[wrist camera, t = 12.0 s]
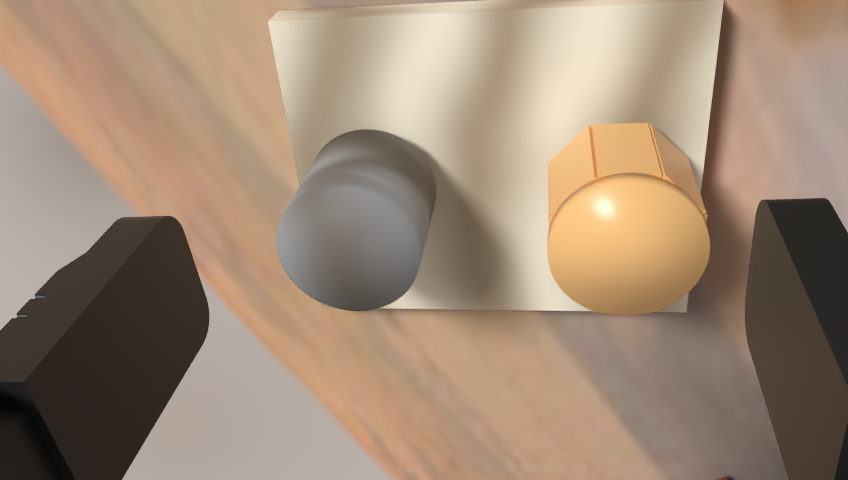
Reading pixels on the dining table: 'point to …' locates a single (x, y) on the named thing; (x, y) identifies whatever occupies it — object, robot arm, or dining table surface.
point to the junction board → (467, 136)
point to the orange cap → (625, 220)
